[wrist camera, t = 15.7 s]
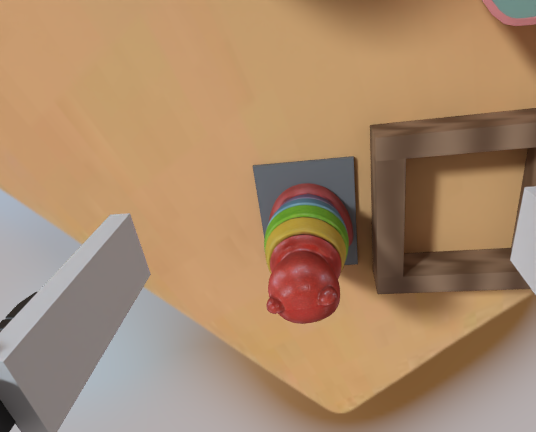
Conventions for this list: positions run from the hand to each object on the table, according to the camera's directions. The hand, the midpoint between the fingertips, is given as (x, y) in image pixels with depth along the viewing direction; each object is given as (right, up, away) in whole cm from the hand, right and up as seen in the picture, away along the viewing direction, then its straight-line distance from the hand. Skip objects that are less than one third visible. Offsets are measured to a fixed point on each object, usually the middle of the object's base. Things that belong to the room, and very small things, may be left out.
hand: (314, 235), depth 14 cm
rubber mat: (+4, +1, +37) cm, 37 cm away
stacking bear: (+3, +1, +37) cm, 37 cm away
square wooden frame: (+21, +3, +34) cm, 40 cm away
